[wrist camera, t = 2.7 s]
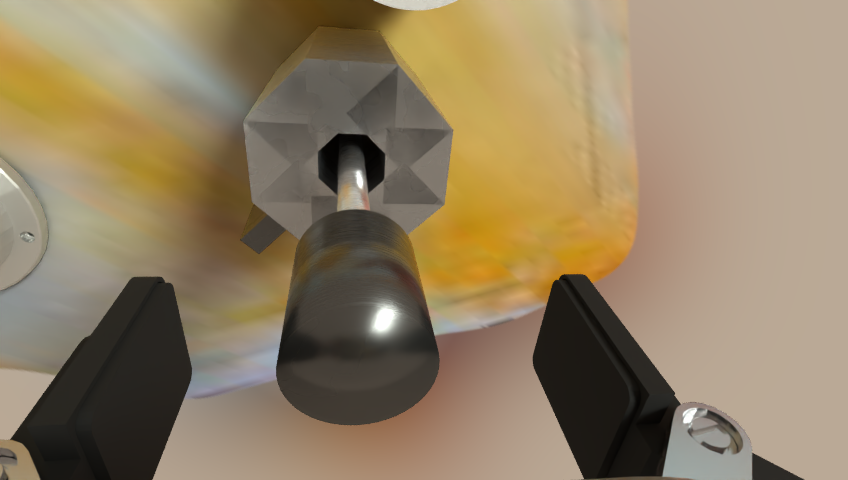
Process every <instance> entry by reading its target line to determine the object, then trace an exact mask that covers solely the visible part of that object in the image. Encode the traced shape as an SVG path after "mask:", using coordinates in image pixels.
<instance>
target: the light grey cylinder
mask: <svg viewBox="0 0 848 480" xmlns="http://www.w3.org/2000/svg"><path fill="white" fill-rule="evenodd" d="M374 1H376V2H379V3H381V4H384V5H387V6H390V7H394V8H398V9H404V10H427V9H433V8H438V7H441V6H445V5H447V4H450V3H453V2H455V1H457V0H374Z"/></svg>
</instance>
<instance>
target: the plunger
mask: <svg viewBox="0 0 848 480" xmlns="http://www.w3.org/2000/svg"><path fill="white" fill-rule="evenodd" d="M438 370H439V352H438V348H437V344H436V340H435V336H434V332H433V328H432V324H431V320H430V316H429V312H428V308H427V304H426V299H425V295H424V291H423V287H422V283H421V279H420V275H419V271H418V267H417V263H416V259H415V255H414V251H413V247H412V244H411V241H410V239H409V237H408V235H407V234H406V232H405V231H404V230H403V229H402V228H401V227H400V225H398V224H397V223H396V222H395V221H393V220H392V219H390V218H389V217H387V216H385V215H382V214H380V213H377V212H374V211H370V206H369V197H368V187H367V178H366V169H365V160H364V150H363V141H362V134H341V133H339V162H338V199H337V212H334V213H331V214H329V215H326V216H324V217H323V218H321V219H319V220H317V221H316V222H315V223H314V224H312V225H311V226H310V227H309V228H308V229H307V230H306V231H305V233H304V234H303V236H302V237H301V239H300V241H299V243H298V246H297V249H296V254H295V259H294V265H293V271H292V277H291V283H290V289H289V295H288V301H287V307H286V313H285V319H284V324H283V330H282V336H281V342H280V348H279V354H278V360H277V366H276V376H277V381H278V385H279V387H280V390H281V391H282V393H283V395H284V396H285V398H286V399H287V400H288V401H289V402H290V403H291V404H292V405H293V406H294V407H295V408H296V409H298V410H299V411H301V412H302V413H304V414H306V415H308V416H310V417H312V418H315V419H317V420H320V421H324V422H328V423H333V424H339V425H362V424H370V423H375V422H379V421H383V420H386V419H389V418H392V417H394V416H397V415H399V414H401V413H403V412H405V411H406V410H408V409H409V408H411V407H413V406H414V405H415V404H416V403H418V402H419V401H420V400H421V399H422V398H423V397H424V396H425V395H426V394H427V392H428V391H429V390H430V389H431V387H432V385H433V384H434V382H435V379H436V377H437V374H438Z"/></svg>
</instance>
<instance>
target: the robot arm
mask: <svg viewBox="0 0 848 480" xmlns="http://www.w3.org/2000/svg"><path fill="white" fill-rule="evenodd" d="M47 241H48V227H47V221H46V217H45V214H44V211H43V208H42V206H41V204H40V202H39V201H38V199H37V197H36V195H35V194H34V192H33V190H32V189H31V188H30V187H29V185H28V184H27V183H26V182H25V180H24V179H23V178H22V177H21V176H20V174H18V173H17V172H16V171H15V170H14V169H13V168H12V167H11V166H10V165H9V164H7V163H6V162H5V161H4V160H3V159H2V158H0V290H3V289H6V288H8V287H10V286H12V285H14V284H16V283H18V282H19V281H20V280H22V279H23V278H24V277H25V276H27V275H28V274H29V273H30V272H31V271H32V270H33V269H34V268H35V267H36V265H37V264H38V263H39V262H40V261H41V259H42V257H43V255H44V253H45V251H46V246H47ZM533 366H534V369H535V371H536V374H537V376H538V378H539V380H540V382H541V385H542V387H543V389H544V391H545V394H546V396H547V398H548V400H549V402H550V404H551V407H552V409H553V411H554V413H555V416H556V418H557V420H558V422H559V424H560V427H561V429H562V431H563V433H564V435H565V438H566V440H567V442H568V444H569V446H570V449H571V451H572V453H573V455H574V458H575V460H576V462H577V464H578V466H579V469H580V471H581V473H582V475H583V477H584V479H583V480H804V479H802V478H800V477H798V476H796V475H794V474H792V473H790V472H788V471H786V470H784V469H783V468H781V467H779V466H777V465H774V464H773V463H771V462H769V461H767V460H765V459H763V458H761V457H759V456H757V455H755V454H754V453H752V446H751V442H750V439H749V437H748V435H747V434H746V432H745V430H744V429H743V428H742V427H741V426H740V425H739V424H738V423H737V422H736V421H735V420H734V419H732V418H731V417H730V416H728V415H727V414H726V413H724V412H722V411H720V410H718V409H717V408H715V407H712V406H709V405H706V404H703V403H697V402H688V403H683V404H680V403H679V401H678V400H677V399H676V397H675V396H674V395H675V392H674V391H673V390H672V388H671V387H670V386H669V385H668V383H667V382H666V380H665V379H664V378H663V377H662V375H661V374H660V373H659V371H658V370H657V369H656V367H655V366H654V365H653V364H652V362H651V361H650V359H649V358H648V357H647V355H646V354H645V353H644V351H643V350H642V349H641V348H640V346H639V345H638V343H637V342H636V341H635V340H634V338H633V337H632V336H631V334H630V333H629V332H628V330H627V329H626V328H625V326H624V325H623V324H622V322H621V321H620V320H619V318H618V317H617V316H616V315H615V313H614V312H613V311H612V309H611V308H610V306H608V304H607V302H606V301H605V300H604V299H603V297H602V296H601V295H600V293H599V292H598V291H597V289H596V288H595V287H594V285H593V284H592V283H591V281H590V280H589V279H588V277H587V276H586V275H583V274H564V275H561V277H560V278H559V280H555V281H554V282H553V285H552V288H551V292H550V296H549V299H548V303H547V306H546V310H545V314H544V317H543V321H542V325H541V328H540V332H539V336H538V339H537V343H536V346H535V350H534V354H533ZM191 375H192V368H191V362H190V358H189V354H188V349H187V345H186V340H185V336H184V332H183V327H182V323H181V319H180V314H179V310H178V305H177V301H176V297H175V292H174V288H173V285H172V284H171V283H165V281H164V279H163V278H162V277H133V278H132V279H131V280H130V281H129V282H128V283H127V285H126V286H125V288H124V289H123V291H122V292H121V293H120V295H119V296H118V298H117V299H116V300H115V302H114V303H113V305H112V306H111V308H110V309H109V310H108V312H107V313H106V315H105V316H104V317H103V319H102V320H101V322H100V323H99V325H98V326H97V327H96V329H95V330H94V332H93V333H92V334H91V335H90V336H88V337H86V338H84V339H83V340H82V341H81V342H80V344H79V345H78V346H77V348H76V349H75V350H74V352H73V353H72V355H71V356H70V357H69V359H68V360H67V362H66V363H65V364H64V366H63V367H62V368H61V370H60V371H59V373H58V374H57V375H56V377H55V378H54V380H53V381H52V382H51V384H50V385H49V387H48V388H47V389H46V391H45V392H44V393H43V395H42V396H41V398H40V399H39V400H38V402H37V403H36V405H35V406H34V407H33V409H32V410H31V412H30V413H29V414H28V416H27V417H26V418H25V420H24V421H23V423H22V424H21V425H20V427H19V428H18V430H17V431H16V432H15V434H14V435H13V437H12V438H11V439H10V440H0V480H152V479H153V477H154V474H155V471H156V469H157V466H158V464H159V461H160V459H161V456H162V454H163V451H164V448H165V445H166V443H167V441H168V437H169V436H170V433H171V430H172V428H173V425H174V423H175V420H176V417H177V415H178V412H179V410H180V407H181V405H182V402H183V399H184V397H185V394H186V392H187V389H188V387H189V384H190V381H191Z"/></svg>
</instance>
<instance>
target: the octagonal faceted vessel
mask: <svg viewBox="0 0 848 480" xmlns="http://www.w3.org/2000/svg"><path fill="white" fill-rule="evenodd" d="M243 125H244V134H245V143H246V152H247V161H248V171H249V180H250V189H251V198H252V203H254V205H253V208H252V210H251V213H250V216H249V218H248V221H247V223H246V226H245V229H244V231H243V234H242V237H241V239H240V240H241V241H242V242H244V243H245V244H246V245H248V246H249V247H250V248H252V249H253V250H254V251H256V252H257V253H258V254H260V253H261V252H262V251H263V250H264V249H265V248H266V247H267V246H269V245H270V244H271V243H272V242H273V241H274V240H275V239H276V238H277V237H279V236H280V235H281V234H282V233H283V232H284V231H285V230H287V231H289V232H290V233H291V234H292V235H294V236H295V237H296V238H297V239H299V240H300V239H301V237H302V236H303V234H304V233H305V231H306V230H307V229H308V228H309V227H310V226H311V225H312V224H314V223H315V222H316V221H317V220H319V219H321V218H323V217H324V216H326V215H329V214H331V213H334V212H337V199H338V162H339V133H341V134H362V141H363V150H364V160H365V169H366V178H367V187H368V197H369V206H370V211H374V212H377V213H380V214H382V215H385V216H387V217H389V218H390V219H392V220H393V221H395V222H396V223H397V224H398V225H400V227H401V228H402V229H403V230H404V231H405V232H406V234H407V235H408V234H409V233H410V232H412V231H413V230H414V229H415V228H416V227H418V226H419V225H420V224H421V223H422V222H424V221H425V220H426V219H427V218H429V217H430V216H431V215H432V214H433V213H435V212H436V211H437V210H438V209H440V208H441V207H442V206H443V205H444V203H445V195H446V187H447V178H448V170H449V161H450V153H451V144H452V136H453V129H452V127H451V126H450V124H449V123H448V121H447V120H446V118H445V117H444V115H443V114H442V112H441V111H440V110H439V108H438V107H437V105H436V104H435V102H434V101H433V99H432V98H431V96H430V95H429V93H428V92H427V90H426V89H425V87H424V86H423V84H422V83H421V81H420V80H419V78H418V77H417V76H416V74H415V73H414V72H413V71H412V70H411V68H410V67H409V66H408V65H407V64H406V62H405V61H404V60H403V59H402V58H401V56H400V55H399V54H398V53H397V51H396V50H395V49H394V48H393V47H392V45H391V44H390V43H389V42H388V41H387V39H386V38H385V37H384V36H383V35H382V33H381V32H380V31H376V30H363V29H350V28H337V27H324V26H319V27H318V28H317V29H316V30H315V31H314V32H313V33H312V34H311V35H310V36H309V37H308V38H307V39H306V40H305V41H304V42H303V43H302V44H301V45H300V46H299V47H298V48H297V49H296V50H295V51H294V52H293V53H292V54H291V55H290V56H289V57H288V58H287V59H286V60H285V61H284V62H283V63H282V64H281V65H280V67H279V68H278V69H277V70H276V72H275V73H274V75H273V76H272V78H271V79H270V81H269V83H268V84H267V86H266V87H265V89H264V90H263V92H262V93H261V95H260V96H259V98H258V99H257V101H256V102H255V104H254V105H253V107H252V108H251V110H250V111H249V113H248V114H247V116H246V118H245V119H244V121H243Z"/></svg>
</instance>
